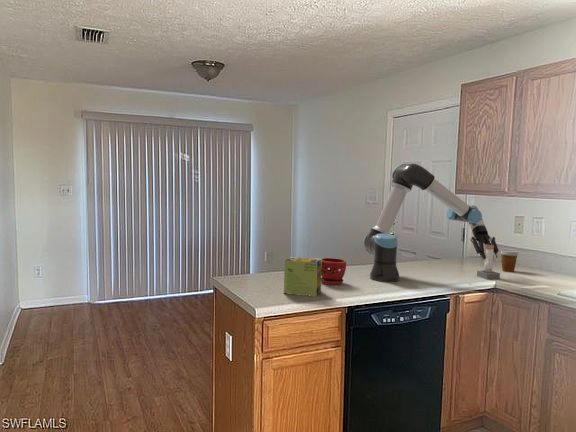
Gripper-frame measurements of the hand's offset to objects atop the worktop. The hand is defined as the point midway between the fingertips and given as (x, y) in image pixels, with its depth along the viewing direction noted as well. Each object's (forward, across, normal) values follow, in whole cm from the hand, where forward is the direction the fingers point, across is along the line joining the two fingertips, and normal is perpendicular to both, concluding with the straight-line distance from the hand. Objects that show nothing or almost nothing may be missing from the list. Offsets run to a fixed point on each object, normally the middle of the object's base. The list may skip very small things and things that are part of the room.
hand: (492, 263), depth 234 cm
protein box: (+25, +103, +11) cm, 107 cm away
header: (+4, 0, -9) cm, 10 cm away
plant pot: (+12, +86, -2) cm, 87 cm away
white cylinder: (+2, 0, -7) cm, 8 cm away
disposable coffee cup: (-12, -24, -25) cm, 37 cm away
